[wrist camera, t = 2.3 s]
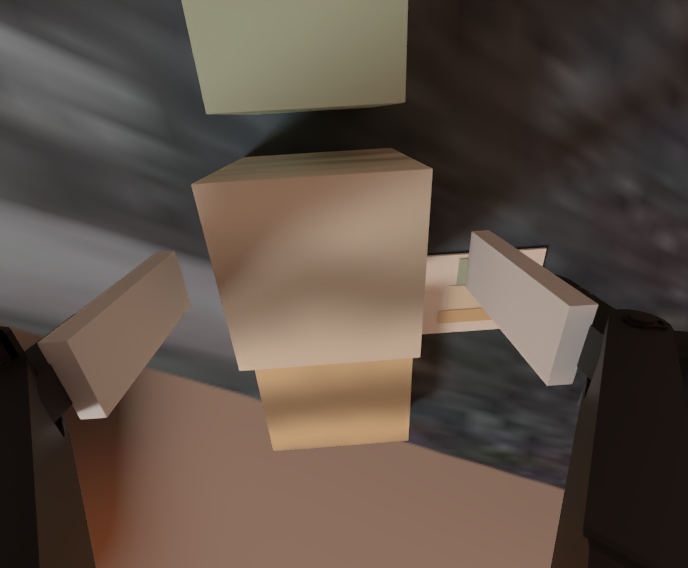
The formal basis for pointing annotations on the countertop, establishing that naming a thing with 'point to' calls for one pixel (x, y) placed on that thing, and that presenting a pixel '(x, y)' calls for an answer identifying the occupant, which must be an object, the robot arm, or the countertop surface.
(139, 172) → the countertop surface
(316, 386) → the base
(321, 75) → the sage brick
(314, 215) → the birch brick
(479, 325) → the page
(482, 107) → the countertop surface
